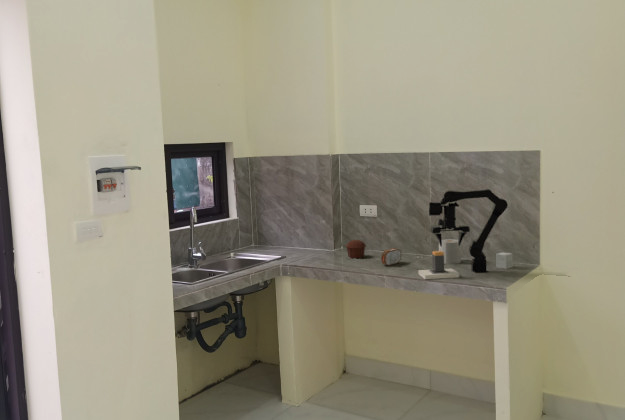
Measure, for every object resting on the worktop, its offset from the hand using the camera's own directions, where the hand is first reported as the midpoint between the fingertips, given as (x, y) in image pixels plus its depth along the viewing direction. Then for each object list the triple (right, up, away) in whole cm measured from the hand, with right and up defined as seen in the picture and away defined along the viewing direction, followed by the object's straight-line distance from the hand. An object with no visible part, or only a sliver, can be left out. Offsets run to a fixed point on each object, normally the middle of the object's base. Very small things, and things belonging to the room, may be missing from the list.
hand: (450, 246), depth 320 cm
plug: (-7, -14, -8) cm, 18 cm away
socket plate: (-7, -14, -8) cm, 18 cm away
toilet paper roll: (+6, -10, +26) cm, 29 cm away
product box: (+29, -12, +6) cm, 32 cm away
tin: (-26, -12, +26) cm, 39 cm away
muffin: (-44, -10, +51) cm, 68 cm away
